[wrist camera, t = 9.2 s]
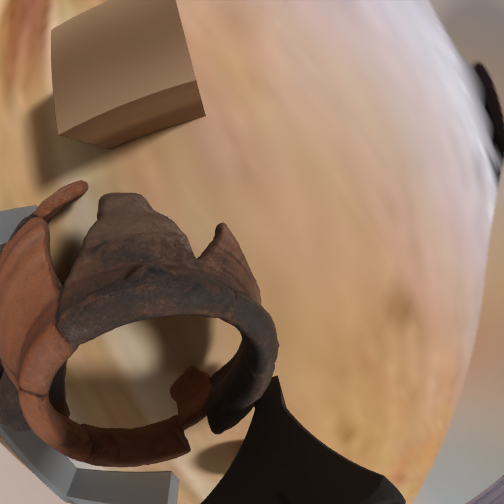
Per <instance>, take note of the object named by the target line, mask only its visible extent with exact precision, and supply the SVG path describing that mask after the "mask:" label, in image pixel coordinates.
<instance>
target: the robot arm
mask: <svg viewBox="0 0 504 504" xmlns="http://www.w3.org/2000/svg"><path fill="white" fill-rule="evenodd" d="M254 407H255V411H254V415H253V418H252V421H251V424H250V427H249V429H248V432H247V434H246V437H245V439H244V442H243V444H242V446H241V448H240V450H239V452H238V454H237V456H236V457H235V459H234V461H233V462H232V464H231V466H230V467H229V469H228V470H227V472H226V473H225V475H224V476H223V478H222V479H221V480H220V482H219V483H218V484H217V485H216V487H215V488H214V489H213V490H212V492H211V493H210V494H209V495H208V496H207V497H206V499H205V500H204V501H203V502H202V503H201V504H405V502H406V501H405V499H404V497H403V496H402V494H401V493H400V492H399V490H398V489H397V488H396V487H395V486H394V485H393V484H392V483H391V482H390V481H389V480H388V479H387V478H386V477H385V476H383V475H381V474H378V473H376V472H373V471H371V470H368V469H366V468H364V467H362V466H360V465H358V464H356V463H354V462H352V461H350V460H348V459H346V458H345V457H343V456H341V455H340V454H338V453H337V452H335V451H334V450H332V449H330V448H329V447H327V446H326V445H325V444H323V443H322V442H321V441H319V440H318V439H317V438H316V437H314V436H313V435H312V434H311V433H310V432H309V431H308V430H306V429H305V428H304V427H303V426H302V425H301V424H300V423H299V422H298V421H297V420H296V419H295V417H294V416H293V415H292V414H291V413H290V412H289V410H288V409H287V408H286V404H285V401H284V397H283V394H282V390H281V386H280V383H279V379H278V376H274V377H272V379H271V381H270V384H269V385H268V386H267V389H266V390H265V392H264V393H263V395H262V397H261V398H260V399H258V400H256V401H255V402H254ZM466 504H504V475H503V476H502V477H501V478H499V479H498V480H497V481H496V482H495V483H494V484H492V485H491V486H489V487H488V488H487V489H486V490H484V491H483V492H482V493H481V494H479V495H478V496H476V497H475V498H473V499H472V500H471V501H469V502H468V503H466Z"/></svg>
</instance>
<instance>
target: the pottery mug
mask: <svg viewBox="0 0 504 504" xmlns="http://www.w3.org/2000/svg"><path fill="white" fill-rule="evenodd" d="M87 190H88V184H87V182H84V181H82V180H80V181H77V182H74V183H71V184H68V185H66V186H64V187H62V188H60V189H59V190H57V191H56V192H55V193H54V194H52V195H51V196H50V197H48V198H47V199H45V200H44V201H43V202H42V203H41V204H40V205H39V206H38V208H37V209H36V210H35V211H34V212H33V213H32V214H30V215H29V216H28V217H25V218H24V219H22V221H21V222H20V223H19V224H18V225H17V227H16V229H15V230H14V232H13V233H12V235H11V237H10V239H9V241H8V242H7V244H6V245H5V247H4V249H3V251H2V253H1V256H0V424H2V425H4V426H6V427H7V428H9V429H10V430H12V431H16V432H21V431H28V430H33V432H34V433H35V434H36V435H37V436H38V437H39V438H41V439H42V440H43V441H44V442H45V443H46V444H48V445H49V446H50V447H52V448H53V449H55V450H56V451H58V452H60V453H61V454H63V455H65V456H67V457H69V458H72V459H75V460H77V461H81V462H85V463H88V464H91V465H95V466H104V467H106V466H107V467H136V466H141V465H150V464H154V463H159V462H163V461H167V460H171V459H174V458H177V457H180V456H182V455H184V454H187V453H188V452H190V451H191V449H190V446H189V443H188V440H187V438H186V437H185V435H184V430H185V429H187V428H188V427H190V426H193V425H195V424H196V423H198V422H199V421H200V420H202V419H203V418H204V417H205V416H207V418H208V423H209V425H210V428H211V431H212V432H213V433H214V434H221V433H223V432H224V431H225V430H228V429H230V428H232V427H233V426H235V425H236V424H238V423H239V422H240V420H241V419H243V418H244V417H245V416H246V415H247V414H248V413H249V412H250V411H251V410H252V408H253V407H254V402H255V401H256V400H258V399H260V398H261V397H262V395H263V393H264V392H265V390H266V389H267V386H268V385H269V384H270V381H271V379H272V375H273V372H274V369H275V364H274V363H275V361H276V359H277V353H278V348H279V343H278V340H277V333H276V328H275V325H274V322H273V320H272V318H271V316H270V315H269V313H268V312H267V311H266V310H265V309H264V308H263V307H262V306H261V297H260V290H259V287H258V285H257V283H256V280H255V278H254V276H253V274H252V272H251V270H250V268H249V265H248V263H247V261H246V259H245V256H244V254H243V253H242V251H241V248H240V246H239V244H238V242H237V240H236V239H235V237H234V236H233V234H232V233H231V231H230V230H229V228H228V227H227V225H226V224H225V223H220V224H218V226H217V227H216V229H215V236H214V238H213V241H212V242H211V243H210V244H209V245H208V246H207V248H206V249H205V250H204V252H203V253H202V254H201V256H200V257H198V259H197V258H196V257H195V256H194V254H193V251H192V249H191V246H190V244H189V241H188V239H187V236H186V235H185V234H184V233H183V232H181V230H180V229H179V227H178V226H177V225H176V224H175V223H174V222H173V221H172V220H171V219H169V218H168V217H166V216H164V215H162V214H160V213H158V212H156V211H154V210H153V209H152V208H151V206H150V205H149V203H148V202H147V200H146V199H145V198H144V197H143V196H142V195H140V194H137V193H109V194H105V195H103V196H102V197H101V198H100V200H99V205H98V213H97V221H96V222H95V223H94V224H93V226H92V227H91V228H90V229H89V231H88V233H87V235H86V236H85V238H84V241H83V244H82V247H81V250H80V253H79V255H78V257H77V258H76V260H75V262H74V264H73V266H72V268H71V271H70V273H69V275H68V277H67V278H66V280H65V282H64V285H63V286H62V284H61V283H60V281H59V279H58V277H57V275H56V273H55V271H54V268H53V264H52V261H51V255H50V232H49V227H48V223H49V221H50V219H51V218H52V217H53V216H54V215H55V214H56V213H57V212H58V210H59V209H60V208H62V207H63V206H64V205H65V204H66V203H68V202H70V201H72V200H74V199H76V198H78V197H80V196H81V195H83V193H85V192H86V191H87ZM174 315H200V316H205V317H213V318H220V319H222V320H223V321H225V322H227V323H229V324H232V325H233V326H235V327H236V328H237V329H238V330H239V331H240V333H241V335H242V341H241V344H240V347H239V349H238V351H237V353H236V354H235V355H234V357H233V358H232V359H231V360H230V361H229V362H228V363H227V364H226V365H224V366H223V367H222V368H221V369H220V370H219V371H217V372H216V373H214V374H213V375H212V376H210V375H209V374H208V373H206V372H204V371H201V370H199V369H198V368H195V367H190V368H189V369H187V370H186V371H185V372H184V373H183V374H182V375H181V376H180V377H179V378H178V379H177V380H176V382H175V383H174V384H173V385H172V387H171V388H170V393H171V397H172V398H173V399H174V400H175V401H176V402H177V406H178V414H177V415H175V416H172V417H170V418H169V419H166V420H163V421H160V422H157V423H154V424H150V425H147V426H144V427H140V428H134V429H125V428H110V429H109V428H99V427H94V426H90V425H87V424H81V425H80V424H78V423H76V422H74V421H72V420H70V419H69V415H70V411H69V408H68V405H67V403H66V400H65V399H66V395H65V375H66V364H67V360H68V358H69V357H70V356H71V355H72V354H73V353H74V352H75V351H76V349H77V348H78V346H79V345H80V344H83V343H86V342H88V341H90V340H92V339H94V338H96V337H98V336H100V335H102V334H104V333H106V332H108V331H111V330H113V329H115V328H117V327H120V326H122V325H125V324H128V323H132V322H136V321H140V320H145V319H151V318H159V317H168V316H174Z"/></svg>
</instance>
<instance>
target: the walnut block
mask: <svg viewBox="0 0 504 504" xmlns="http://www.w3.org/2000/svg"><path fill="white" fill-rule="evenodd" d="M51 67H52V84H53V97H54V106H55V115H56V123H57V130H58V135H60V136H64V137H68V138H71V139H75V140H79V141H82V142H86V143H89V144H93V145H96V146H100V147H103V148H107V149H110V148H113V147H115V146H118V145H120V144H123V143H125V142H128V141H131V140H133V139H136V138H138V137H141V136H144V135H147V134H149V133H152V132H155V131H158V130H161V129H164V128H167V127H170V126H173V125H176V124H180V123H183V122H186V121H189V120H193V119H196V118H200V117H203V116H206V115H205V112H204V108H203V104H202V100H201V97H200V93H199V89H198V85H197V81H196V78H195V74H194V70H193V66H192V62H191V58H190V55H189V51H188V47H187V43H186V39H185V35H184V31H183V27H182V24H181V20H180V16H179V12H178V8H177V4H176V0H109V1H107V2H105V3H102V4H100V5H98V6H96V7H94V8H91V9H89V10H87V11H85V12H83V13H81V14H79V15H77V16H75V17H73V18H71V19H70V20H68V21H66V22H64V23H62V24H61V25H59V26H57V27H55V28H54V29H52V30H51Z"/></svg>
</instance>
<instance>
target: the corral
mask: <svg viewBox="0 0 504 504" xmlns="http://www.w3.org/2000/svg"><path fill="white" fill-rule="evenodd" d="M36 209H37V206H36V205H34V206H27V207H22V208H16V209H10V210H5V211H0V252H1V251H3V249H4V247H5V245H6V244H7V242H8V241H9V239H10V237H11V235H12V233H13V232H14V230H15V229H16V227H17V225H18V224H19V223H20V222H21V221H22V219H24V218H25V217H28V216H29V215H30V214H32V213H33V212H34V211H35V210H36ZM0 436H1V438H2V439H3V440H4V441H5V442H6V444H7V445H8V446H9V447H10V448H11V450H12V451H13V452H14V453H15V454H16V455H17V456H18V457H19V458H20V460H21V461H22V462H23V463H24V464H25V465H26V466H27V467H28V468H29V469H30V470H31V471H32V472H33V473H34V474H35V475H36V476H37V477H38V478H39V479H40V480H41V481H42V482H43V483H44V484H45V485H47V487H49V488H50V489H51V490H52V491H53V492H54V493H55V494H56V495H58V496H59V497H60V498H61V499H62V500H64V501H65V502H68V503H72V504H177V498H178V487H179V479H178V478H177V477H176V476H175V475H174V474H173V473H172V471H171V472H111V471H96V470H86V469H77V468H76V467H75V466H74V465H73V464H72V463H71V462H70V461H69V459H68V458H67V457H66V456H65V455H63V454H61V453H60V452H58V451H56V450H55V449H53V448H52V447H50V446H49V445H48V444H46V443H45V442H44V441H43V440H42V439H41V438H39V437H38V436H37V435H36V434H35V433H34V432H33V430H28V431H21V432H16V431H12V430H10V429H9V428H7V427H6V426H4V425H2V424H0Z"/></svg>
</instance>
